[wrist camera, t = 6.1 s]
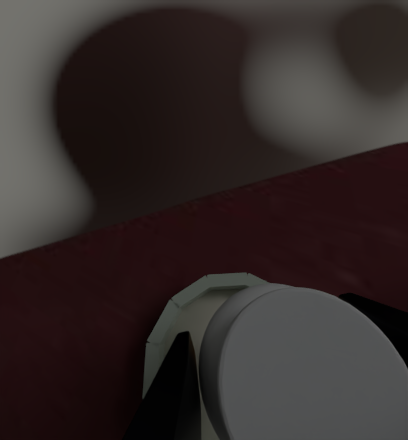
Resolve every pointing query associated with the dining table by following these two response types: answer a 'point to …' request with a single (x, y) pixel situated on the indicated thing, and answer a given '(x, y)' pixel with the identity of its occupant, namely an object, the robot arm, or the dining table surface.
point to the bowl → (192, 325)
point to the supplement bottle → (300, 369)
